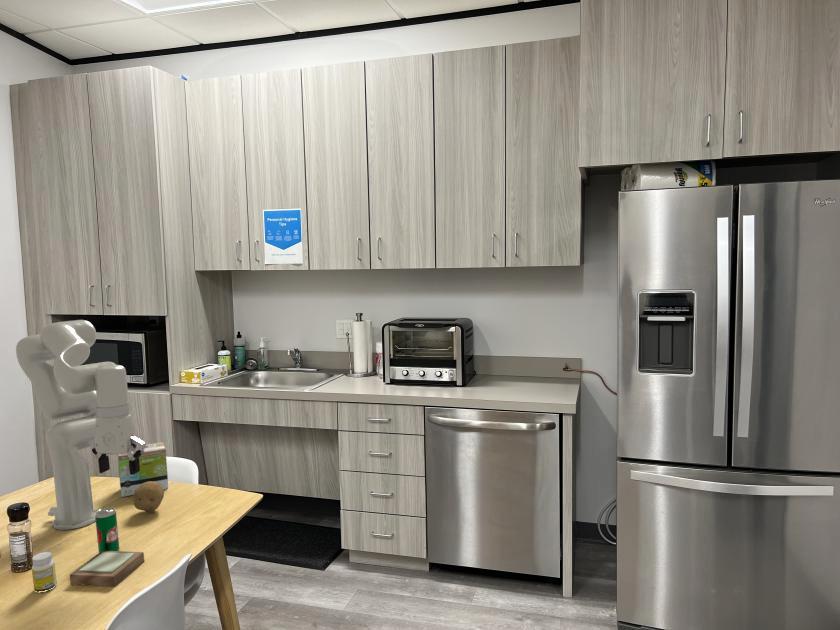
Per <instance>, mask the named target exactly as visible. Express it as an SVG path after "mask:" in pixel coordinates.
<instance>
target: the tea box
mask: <svg viewBox="0 0 840 630" xmlns="http://www.w3.org/2000/svg"><path fill="white" fill-rule="evenodd" d="M136 449H137V450H138V446H137V448H136ZM132 454H133V455H134V453H133V452H132ZM117 457H118V458H117V461H118V475H119V476H118V477H119V487H120V495H121V498H124V497H129V496H133V495H134V492H135V490H136V489H137V488H138V487H139V486H140V485H142V484H143V483H145V482H149V481H153V482H157V483H158V484H160V485H161V486H162V488H163V490H168V489H169V478H168V477H169V476H168V475H169V474H168V464H167V450H166V446H165V443H164V441H161V442H155V443H146V446H145V449H144V452H143V453H142V455H141V457H139V465H140V471H139V472H137V473H135V474H133V475H130V470H129V461H130V460H131V459H130V458H129V457H128V456H127V454H123V455H117Z"/></svg>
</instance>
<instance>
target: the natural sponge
mask: <svg viewBox="0 0 840 630" xmlns="http://www.w3.org/2000/svg"><path fill="white" fill-rule="evenodd" d="M164 490H165V489H164ZM164 490H163V488H162V486H161V485H160V484H158V483H157V482H153V481H149V482H145V483H143V484H142V485H140V486H139V487H138V488H137V489H136V490H135V492H134V495H132V504H133V506H134V507H135V509H137V510H138V511H139V510H140V511H142V512H143V511H144V512H145V513H148V514H149V513H154V512H155V511H156V510H157V509H158V508H159V507H160V505H161V503H162V501H163V500H164V495H165V491H164Z"/></svg>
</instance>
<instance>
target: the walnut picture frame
mask: <svg viewBox="0 0 840 630" xmlns="http://www.w3.org/2000/svg"><path fill="white" fill-rule="evenodd" d="M144 562H145V553H144V551H123V550H122V551H121V550H118V551H101V552H100V553H99V552H98V553H97V554H96V555H94V556H93V557H92V558H90V559H89V560H87V561H86V562H84V563H83V564H82V565H81V566H79V567H78V568H77V569H75V570H74V571H72V572H71V573H70V574H69V581H70V585H71V584H84V585H83V586H90V585H97V586H96V587H113V588H114V587H117V586H118V585H119V584H120V583H121V582H122V581H123V580H125V579H126V578H127V577H128V576H130V575H131V573H133V572H134V571H136V570H137V568H139V567H140V566H141V565H142V564H143V563H144Z"/></svg>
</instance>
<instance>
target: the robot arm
mask: <svg viewBox="0 0 840 630" xmlns="http://www.w3.org/2000/svg"><path fill="white" fill-rule="evenodd" d="M96 340H97V331H96V328H95V326H94V325H93V324H92V323H91V322H90V321H88V320H84V319H77V320H76V319H75V320H65V321H57V322H53V323H50V324H47V325H45V326H44V327H43V328H42V329H41V331H40V333H39V334H32V335H28V336H26V337H23V338H21V339H20V340H19V341H18V342H17V344H16V347H15V354H16V358H17V362H18V365H19V366H20V368H21V370H22V371H23V373H24V374H25V375H26V377H27V378H28V380H29V381H30V382H31V384H32V387H33V390H34V394H35V396H36V398H37V401H38V405H39V407H40V410H41V413H42V414H43V417H44V418H45V419H46V420H48V421H59V420H60V422H57V423H55V424H53V425H51V426H50V427H48V429H47V431H46V433H45V442H46V445H47V448H48V449H47V450H48V452H49V455H50V460H51V465H52V471H53V473H52V474H53V482H54V492H55V500H56V506H51V507H50V508H49V511H48V512H47V516H49V517H54V520H53V521H52V527H53V529H54V530H55V529H56V530H59V531H60V530H61V531H64V530H65V531H66V530H74V529H75V530H76V529H80V528H82V527H85V526H89V525H90V524H92V523H94V522H96V520H95V516H96V512H97V511H98V509H95V508H94V503H93V502H94V501H93V492H92V483H91V474H90V473H91V472H90V464H89V461H88V459H87V458H85V457H84V456H83V455H82V454H81V453H80V452H79V451H82V450H84V449H87V448H90V449H91V452H92V453H93V454H94V455H95V458H96V459H97V461H98V473H100V474H103V473H105V472H107V471H109V470H111V467H110V457H109V455H117V456H118V455H123V454H127V456H128V457H129V458H130V459H131V460H130V461H129V470H130V475H133V474H135V473H137V472H139V471H140V465H139V457H141V455H142V453H143V452H144V449H145V446H146V444H147V443H146V442H145V441H143V440H141V439H140V438H138V437H137V431H136V427H135V421H134V419H133V416H132V414H131V412H130V400H129V390H128V377H127V370H126V367H124V366H123V365H120V364H116V363H115V362H112V361H102V362H97V363H95V362H94V363H89V364H84V363H85V362H86V361H87V360H88V358H89V357H90V353H91V349H90V348H91V347H93V345H94V344H95V343H96ZM53 360H54V362H53V364H49V363H48V362H47V361H53ZM83 364H84V365H83ZM79 416H82V417H79ZM74 417H78V418H74ZM69 418H72V419H69ZM66 419H68V420H66ZM61 420H64V421H61ZM137 446H138V450H137V449H136V448H137ZM132 452H133V453H134V455H133V454H132Z"/></svg>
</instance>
